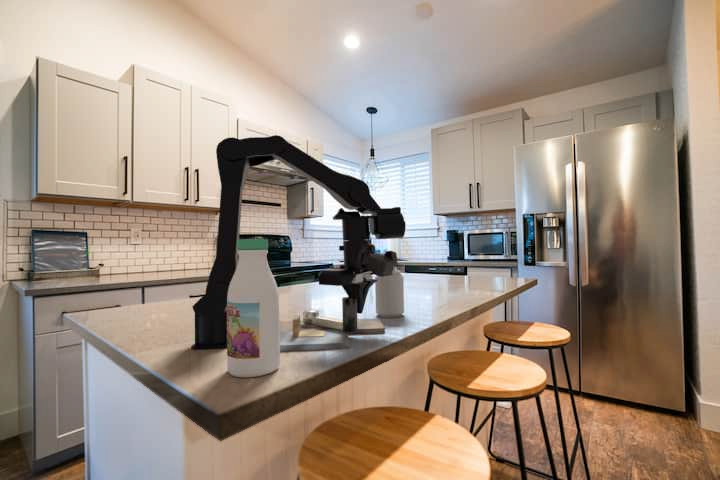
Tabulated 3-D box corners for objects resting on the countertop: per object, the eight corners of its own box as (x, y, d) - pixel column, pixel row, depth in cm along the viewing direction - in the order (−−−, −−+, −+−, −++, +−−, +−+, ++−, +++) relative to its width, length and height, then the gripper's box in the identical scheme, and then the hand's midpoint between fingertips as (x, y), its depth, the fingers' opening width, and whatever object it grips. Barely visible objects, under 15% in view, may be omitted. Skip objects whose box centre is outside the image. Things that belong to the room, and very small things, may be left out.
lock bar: (299, 322, 78) (299, 293, 78) (311, 319, 81) (311, 291, 81) (349, 332, 68) (349, 299, 68) (361, 329, 71) (360, 297, 71)
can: (403, 312, 95) (402, 269, 95) (404, 318, 88) (403, 271, 88) (376, 312, 96) (375, 269, 96) (375, 318, 88) (374, 271, 89)
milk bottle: (263, 357, 58) (262, 239, 59) (289, 368, 53) (288, 238, 53) (218, 370, 53) (217, 239, 53) (242, 383, 47) (241, 238, 48)
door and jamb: (260, 351, 62) (259, 326, 62) (278, 325, 82) (278, 306, 82) (392, 346, 64) (392, 322, 64) (378, 322, 84) (378, 303, 84)
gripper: (359, 241, 61) (363, 328, 61) (411, 237, 76) (414, 308, 76) (315, 242, 68) (318, 321, 68) (370, 239, 83) (372, 304, 83)
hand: (359, 313), depth 74 cm, fingers closed
